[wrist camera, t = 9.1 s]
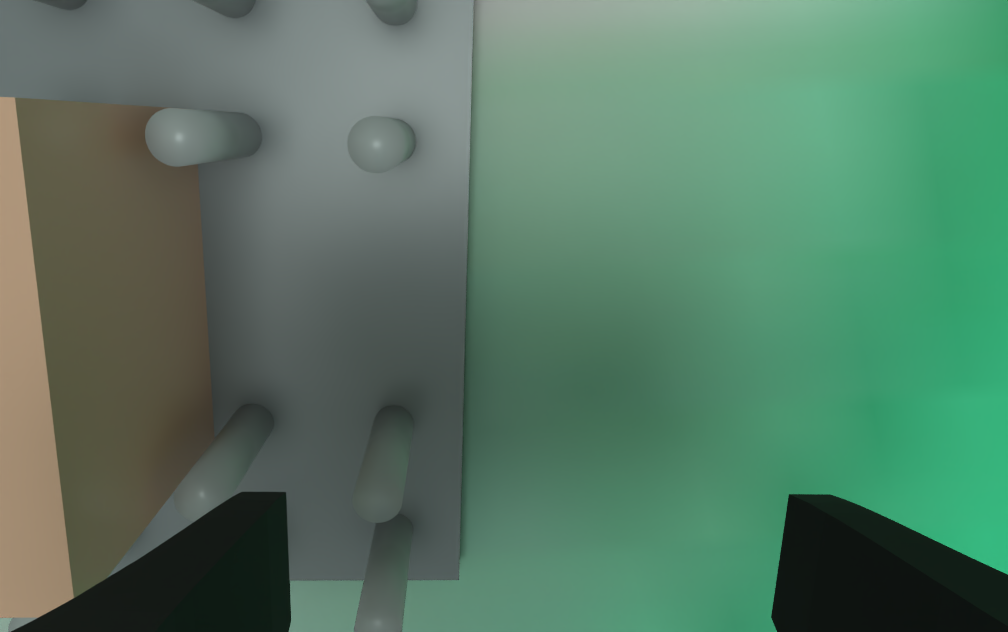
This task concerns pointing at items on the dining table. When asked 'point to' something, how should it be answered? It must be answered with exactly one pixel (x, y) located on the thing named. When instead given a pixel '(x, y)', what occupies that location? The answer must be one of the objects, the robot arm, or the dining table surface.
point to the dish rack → (305, 254)
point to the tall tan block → (93, 343)
